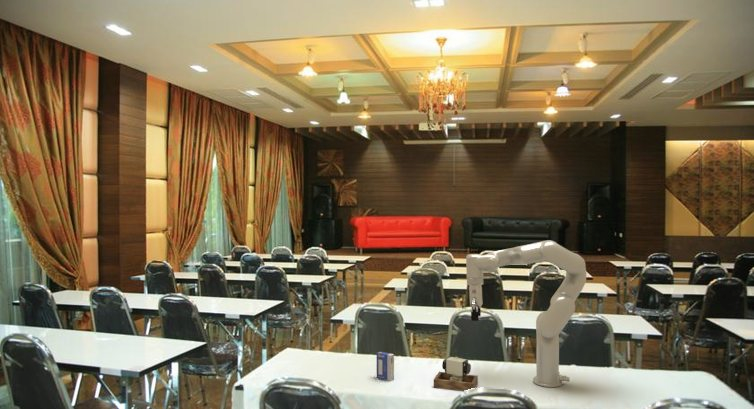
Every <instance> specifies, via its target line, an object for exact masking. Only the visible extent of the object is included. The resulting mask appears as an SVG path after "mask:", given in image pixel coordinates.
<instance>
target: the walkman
mask: <svg viewBox="0 0 754 409" xmlns="http://www.w3.org/2000/svg"><path fill="white" fill-rule="evenodd" d="M376 379H379V380H382V381H388V382H393V381H394V380H395V354H393V353H390V352H389V353H388V352H384V351H378V352H376Z"/></svg>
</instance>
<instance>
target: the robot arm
mask: <svg viewBox="0 0 754 409" xmlns="http://www.w3.org/2000/svg"><path fill="white" fill-rule="evenodd" d="M465 260H466V261H465V264H466V266H465V268H466V285H468V286H469V288H468V289H469V293H468V294H469V306H470V308H471V309H470V310H471V312H470V319H471V322H472V321H474V322H478V321H480V320H479V317H481V312H482V310H481V307H482V305H483V287H482V285H484V271H487V272H494V271H496V270H497V269H498V268H500V267H501V268H502V267H505V266H510V265H512V266H513V265H521V266H522V265H523V266H524V265H529V264H534V263H538V262H544V261H547V262H549V263H551V264H552V265H554V266H556V267H557V268H558V269H559V268H560V269H561V270H562V271H565V277H564V279H563V281H562V283H561V284H560V286H559V287H558V288H557V290H556V291H555V293H554V294H553V295H552V297H551V298H550V301H549V302H550V305H549V307H548V309H547V310H545V311H542V312H540V313H539V314H538V316H537V317H536V321H535V322H536V323H535V328H536V330H535V331H536V332H535V333H536V349H535V350H536V358H535V359H536V368H535V369H536V371H535V372H536V373H535V374H536V376H534V377H532V382H533V383H534V384H535V385H538V386H540V387H545V388H558V387H562V385H563V382H567V383H569V382H570V380H571V378H570V376H567V375H562V374H560V334H561V333H562V331H563V330H564V328H565V326H566V325H567V324H568V322H569V321H570V319H571V318H572V317H573V315H574V312H575V310H576V304H575V302H576V300H577V299H578V297H579V296H580V294H581V292H582V291H583V289H584V287H585V285H586V281H587V268H586V262H585V261H586V260H584V257H582V256H581V255H580V254H578V253H575V252H572V251H570V250H569V249H567V248H565V247H564V246H563V245H560V244H558V243H557V242H556V241H554V240H548V239H547V240H542V241H538V242H533V243H529V244H524V245H523V244H522V245H520V246H519V245H518V246H515V247H511V248H505V249H501V250H496V251H492V252H487V253H486V254H484V255H483V254H479V253H470V254H466V257H465Z"/></svg>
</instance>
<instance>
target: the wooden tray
mask: <svg viewBox="0 0 754 409" xmlns="http://www.w3.org/2000/svg"><path fill="white" fill-rule="evenodd" d="M452 376H453V375H452V374H447V373H445V371H438V373H437V375H435V377H434V378H433V388H435V389H443V390H451V391H452V390H453V391H459V392H460V391H461V392H465V391H464V390H468V389H471V388H475V387H476V388H477V386H478V383H479V380H478V379H479V378H478V375H476V374H467V375H466V376H464V377H463V376H461V377H462V379H463V382H460V381H451V380H450V377H452ZM476 388H475V389H476Z"/></svg>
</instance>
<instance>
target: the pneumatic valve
mask: <svg viewBox="0 0 754 409" xmlns="http://www.w3.org/2000/svg"><path fill="white" fill-rule="evenodd" d="M441 366H442V369H443V370H444V372H445V373H447V374H452V375H453V376H452V377H450V380H451V381H460V382H463V379H462V377H461V376H463V377H464V376H466V375H470V373H471V370H472V369H471V368H472V365H471V364H470V363H469V360H468V359H466V358H461V357H458V356H455V357H454V356H448V357H447V358H445V359H443V361H442V364H441Z"/></svg>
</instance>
